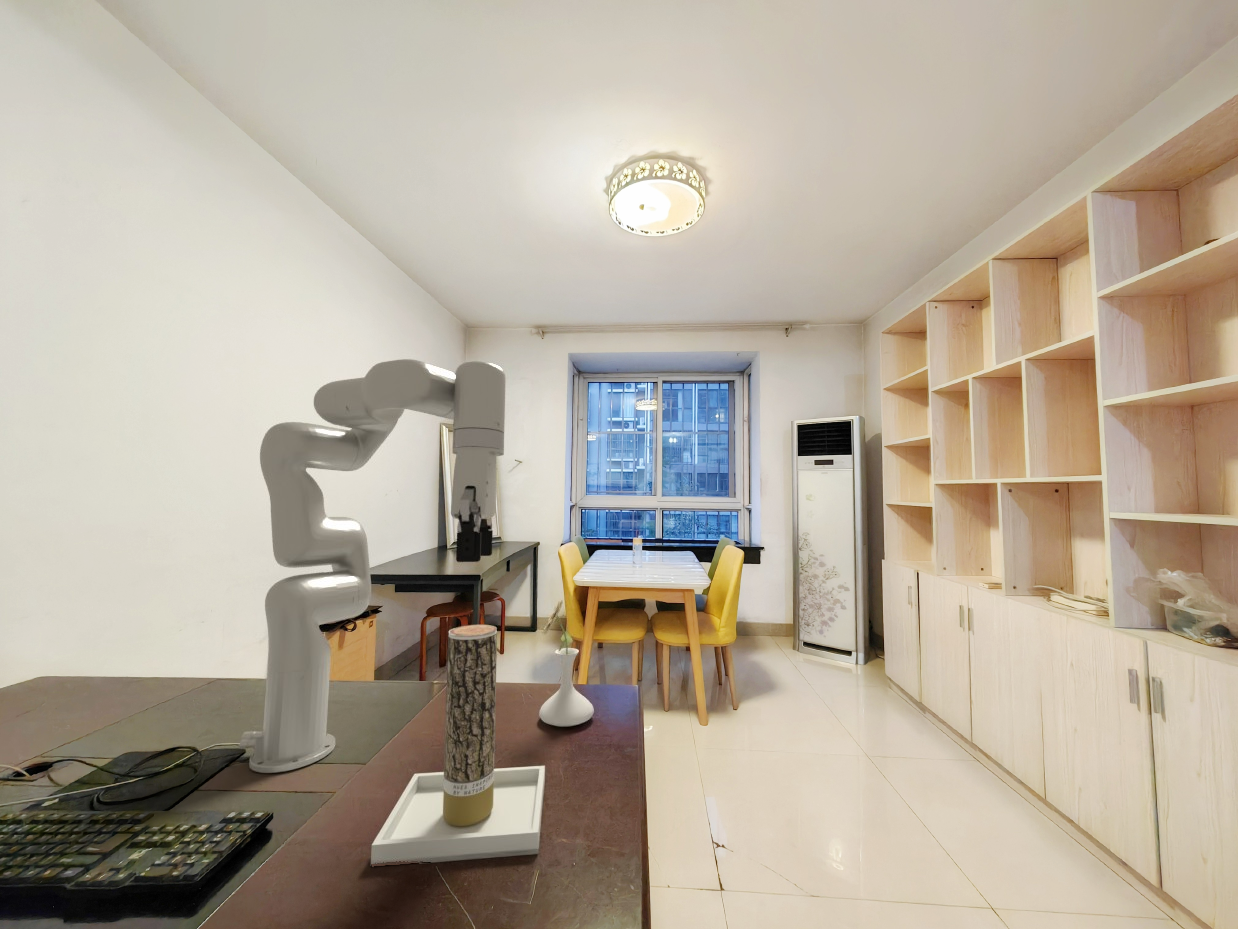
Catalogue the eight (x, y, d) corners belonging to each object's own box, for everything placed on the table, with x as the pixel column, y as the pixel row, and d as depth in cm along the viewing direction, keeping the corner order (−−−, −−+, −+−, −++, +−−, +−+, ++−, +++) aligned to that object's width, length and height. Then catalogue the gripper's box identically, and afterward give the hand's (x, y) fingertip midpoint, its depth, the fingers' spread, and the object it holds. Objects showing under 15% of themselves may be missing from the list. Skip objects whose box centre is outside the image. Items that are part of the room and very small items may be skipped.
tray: (370, 867, 57) (371, 845, 57) (413, 791, 73) (414, 773, 73) (538, 853, 59) (538, 832, 59) (544, 782, 75) (544, 765, 75)
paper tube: (503, 806, 67) (506, 627, 70) (469, 835, 61) (474, 638, 64) (467, 794, 70) (471, 623, 73) (431, 821, 64) (437, 633, 67)
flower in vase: (553, 706, 105) (554, 591, 107) (601, 712, 101) (601, 593, 104) (524, 732, 92) (526, 601, 95) (578, 740, 89) (578, 604, 92)
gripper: (465, 451, 80) (462, 554, 78) (437, 434, 63) (432, 565, 61) (510, 452, 80) (508, 553, 79) (494, 435, 63) (491, 564, 62)
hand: (475, 558), depth 70 cm, fingers open, 9 cm apart
